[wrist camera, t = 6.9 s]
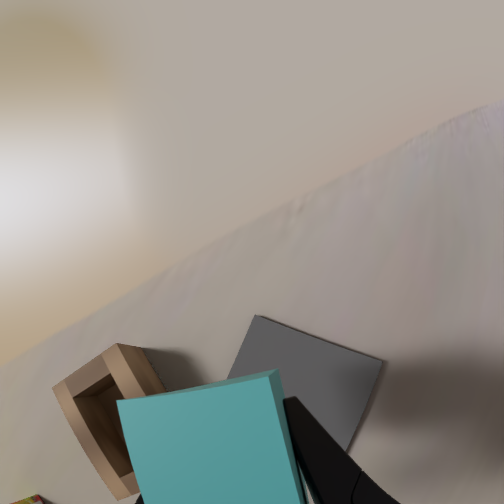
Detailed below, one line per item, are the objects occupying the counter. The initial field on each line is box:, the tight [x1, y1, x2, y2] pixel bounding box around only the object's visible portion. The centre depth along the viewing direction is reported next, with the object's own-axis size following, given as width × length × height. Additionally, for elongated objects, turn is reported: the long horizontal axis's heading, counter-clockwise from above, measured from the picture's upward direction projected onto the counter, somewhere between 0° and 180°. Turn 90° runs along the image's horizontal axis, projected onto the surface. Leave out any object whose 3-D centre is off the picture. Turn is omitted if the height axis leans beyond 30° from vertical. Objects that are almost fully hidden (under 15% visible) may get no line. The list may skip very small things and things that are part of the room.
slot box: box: [52, 343, 167, 501], centre depth 19 cm, size 10×7×4 cm
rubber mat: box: [227, 315, 383, 451], centre depth 20 cm, size 10×10×1 cm
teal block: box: [116, 368, 309, 504], centre depth 9 cm, size 5×2×11 cm, turn 13°
